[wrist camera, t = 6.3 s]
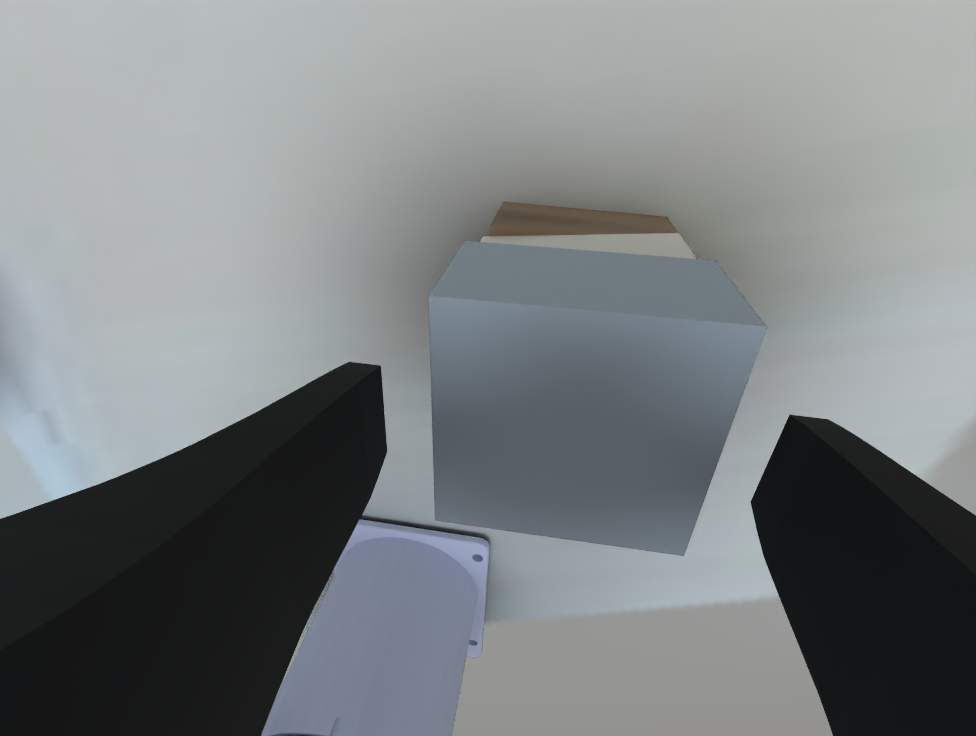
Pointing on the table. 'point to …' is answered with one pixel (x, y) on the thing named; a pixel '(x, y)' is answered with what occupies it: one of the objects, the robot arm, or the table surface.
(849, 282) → the table surface
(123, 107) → the table surface
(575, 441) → the slate block
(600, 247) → the cream block
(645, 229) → the walnut block
